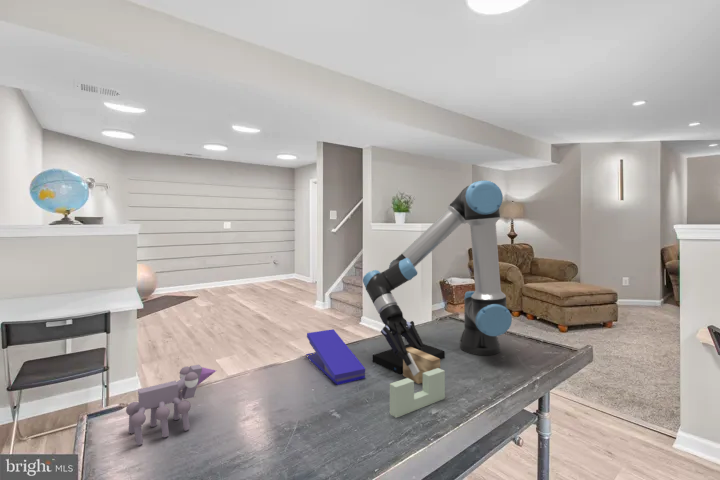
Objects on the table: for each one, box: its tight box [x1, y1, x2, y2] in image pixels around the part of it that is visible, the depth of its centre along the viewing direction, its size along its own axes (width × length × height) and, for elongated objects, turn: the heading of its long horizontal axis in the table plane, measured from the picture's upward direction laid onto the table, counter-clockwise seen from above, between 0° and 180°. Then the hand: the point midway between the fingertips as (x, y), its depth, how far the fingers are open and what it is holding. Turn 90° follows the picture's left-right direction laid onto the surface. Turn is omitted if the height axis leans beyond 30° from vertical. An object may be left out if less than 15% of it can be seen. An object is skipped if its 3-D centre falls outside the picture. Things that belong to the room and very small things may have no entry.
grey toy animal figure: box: [125, 364, 217, 446], centre depth 87 cm, size 20×11×14 cm, turn 127°
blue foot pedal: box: [305, 329, 366, 386], centre depth 123 cm, size 12×28×10 cm, turn 29°
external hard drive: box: [372, 343, 446, 376], centre depth 129 cm, size 14×23×3 cm, turn 129°
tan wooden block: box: [402, 347, 441, 385], centre depth 111 cm, size 13×4×9 cm, turn 34°
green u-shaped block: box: [389, 367, 446, 418], centre depth 96 cm, size 18×2×8 cm, turn 124°
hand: (421, 372), depth 111 cm, fingers closed on tan wooden block, 3 cm apart
